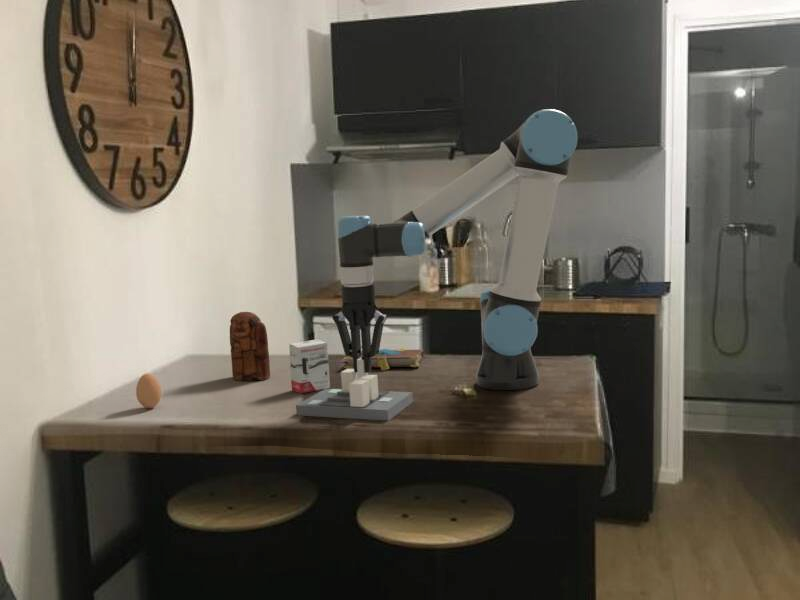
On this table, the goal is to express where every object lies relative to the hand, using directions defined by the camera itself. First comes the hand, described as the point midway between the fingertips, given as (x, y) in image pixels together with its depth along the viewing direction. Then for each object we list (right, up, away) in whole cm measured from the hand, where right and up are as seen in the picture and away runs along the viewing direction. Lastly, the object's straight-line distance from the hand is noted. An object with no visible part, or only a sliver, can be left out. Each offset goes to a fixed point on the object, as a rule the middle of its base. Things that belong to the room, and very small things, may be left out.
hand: (363, 385), depth 195 cm
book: (+2, +1, +41) cm, 41 cm away
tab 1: (-3, -1, +1) cm, 4 cm away
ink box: (-14, -3, +17) cm, 22 cm away
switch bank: (-2, -5, -4) cm, 6 cm away
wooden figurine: (-32, -1, +32) cm, 45 cm away
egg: (-51, -6, +7) cm, 52 cm away
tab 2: (0, -3, -10) cm, 11 cm away
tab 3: (+1, -2, -6) cm, 6 cm away
